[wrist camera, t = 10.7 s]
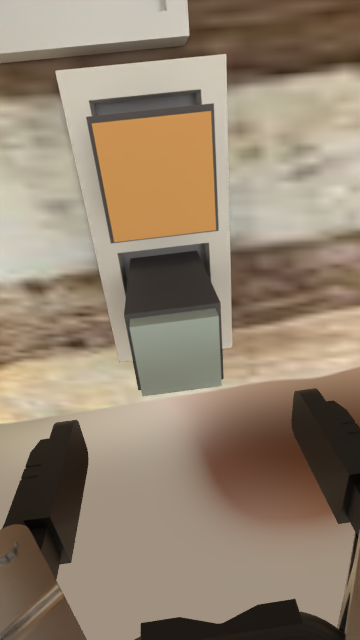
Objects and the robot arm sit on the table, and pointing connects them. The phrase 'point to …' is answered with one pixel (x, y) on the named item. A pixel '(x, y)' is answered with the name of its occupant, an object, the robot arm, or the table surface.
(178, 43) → the tray
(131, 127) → the dark grey orange block
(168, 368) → the dark board eraser
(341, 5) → the table surface
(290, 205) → the table surface
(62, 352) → the table surface
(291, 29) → the table surface
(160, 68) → the white compartment holder
